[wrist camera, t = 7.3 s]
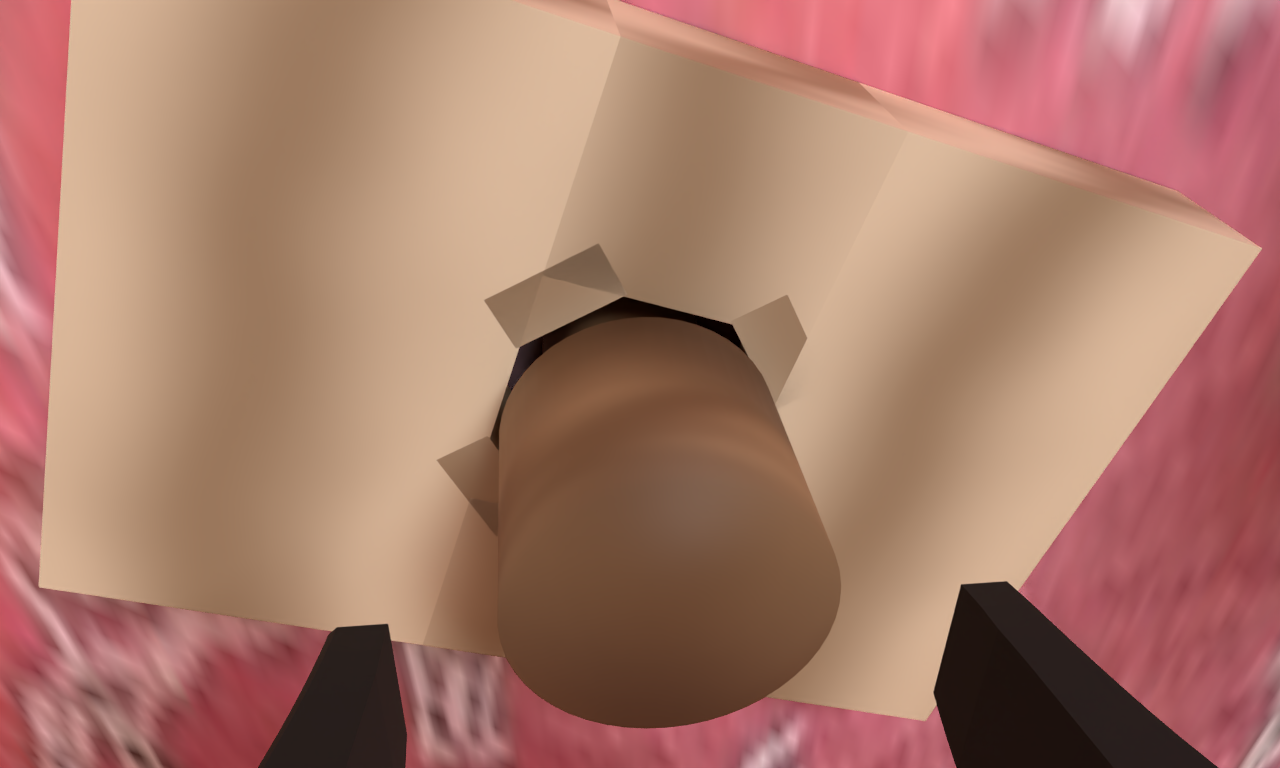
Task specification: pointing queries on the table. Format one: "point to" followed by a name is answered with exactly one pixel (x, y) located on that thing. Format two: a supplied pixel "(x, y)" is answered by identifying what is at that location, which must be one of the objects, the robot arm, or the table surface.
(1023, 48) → the table surface
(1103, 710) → the robot arm
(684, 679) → the walnut peg
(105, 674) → the table surface
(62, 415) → the hole board
